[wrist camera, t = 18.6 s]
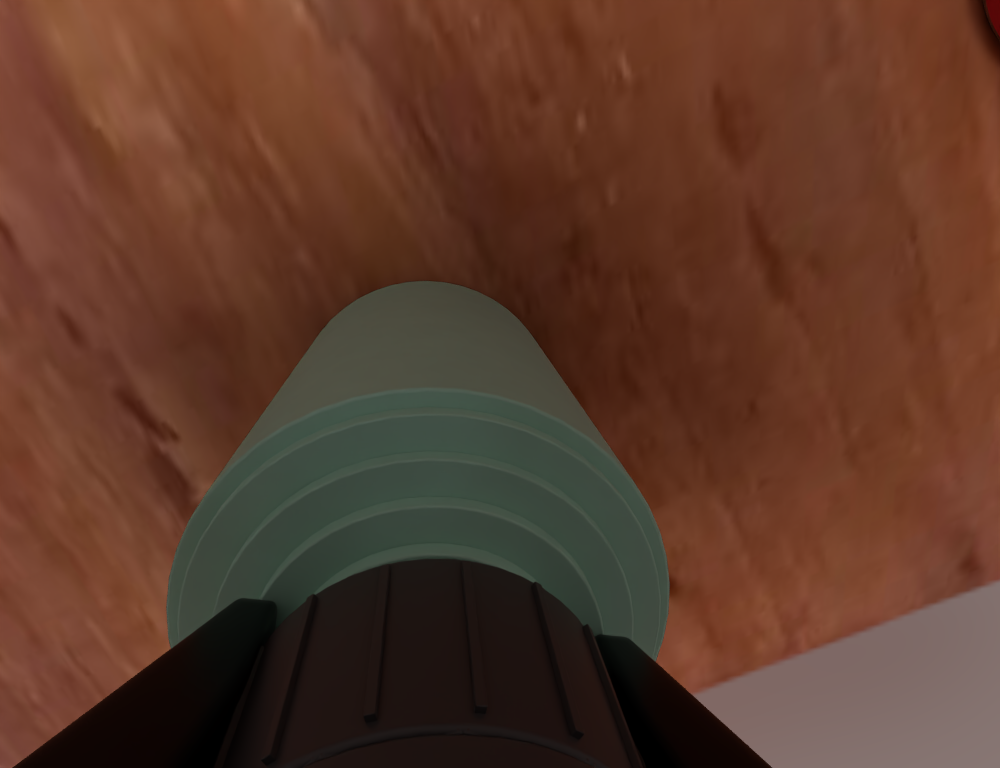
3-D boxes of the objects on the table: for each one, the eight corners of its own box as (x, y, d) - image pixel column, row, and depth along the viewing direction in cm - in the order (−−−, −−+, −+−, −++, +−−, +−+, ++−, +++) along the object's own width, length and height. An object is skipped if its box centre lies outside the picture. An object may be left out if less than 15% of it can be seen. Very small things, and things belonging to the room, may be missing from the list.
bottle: (289, 508, 17) (6, 1185, 5) (306, 262, 15) (-61, 507, 4) (529, 529, 18) (713, 1141, 6) (572, 299, 16) (932, 584, 5)
